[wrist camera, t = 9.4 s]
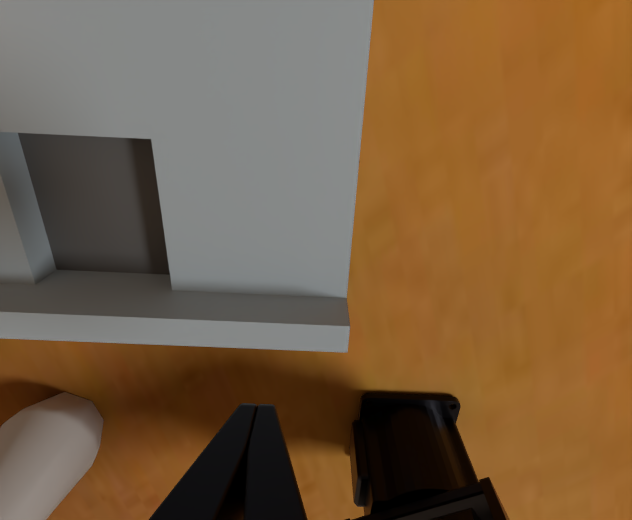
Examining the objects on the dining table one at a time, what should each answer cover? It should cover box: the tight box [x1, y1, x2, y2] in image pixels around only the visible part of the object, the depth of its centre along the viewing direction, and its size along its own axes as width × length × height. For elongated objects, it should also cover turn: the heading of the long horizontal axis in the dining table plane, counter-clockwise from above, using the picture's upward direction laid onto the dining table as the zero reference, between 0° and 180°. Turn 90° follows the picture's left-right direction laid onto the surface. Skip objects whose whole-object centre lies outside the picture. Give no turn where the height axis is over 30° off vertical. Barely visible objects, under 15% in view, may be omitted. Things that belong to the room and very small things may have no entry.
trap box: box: [0, 0, 374, 352], centre depth 15 cm, size 26×20×5 cm
